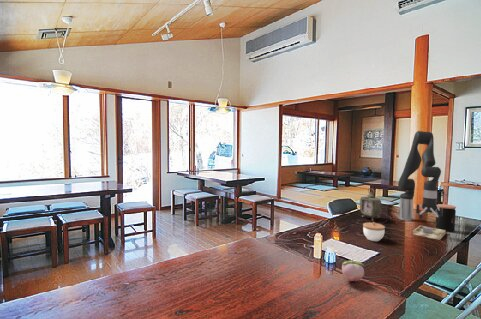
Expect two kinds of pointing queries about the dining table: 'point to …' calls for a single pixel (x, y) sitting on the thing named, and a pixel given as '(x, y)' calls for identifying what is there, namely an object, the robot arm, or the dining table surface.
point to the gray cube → (428, 230)
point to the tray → (436, 234)
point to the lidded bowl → (373, 231)
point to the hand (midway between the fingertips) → (428, 221)
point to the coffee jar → (446, 218)
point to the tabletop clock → (370, 205)
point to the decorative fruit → (352, 270)
